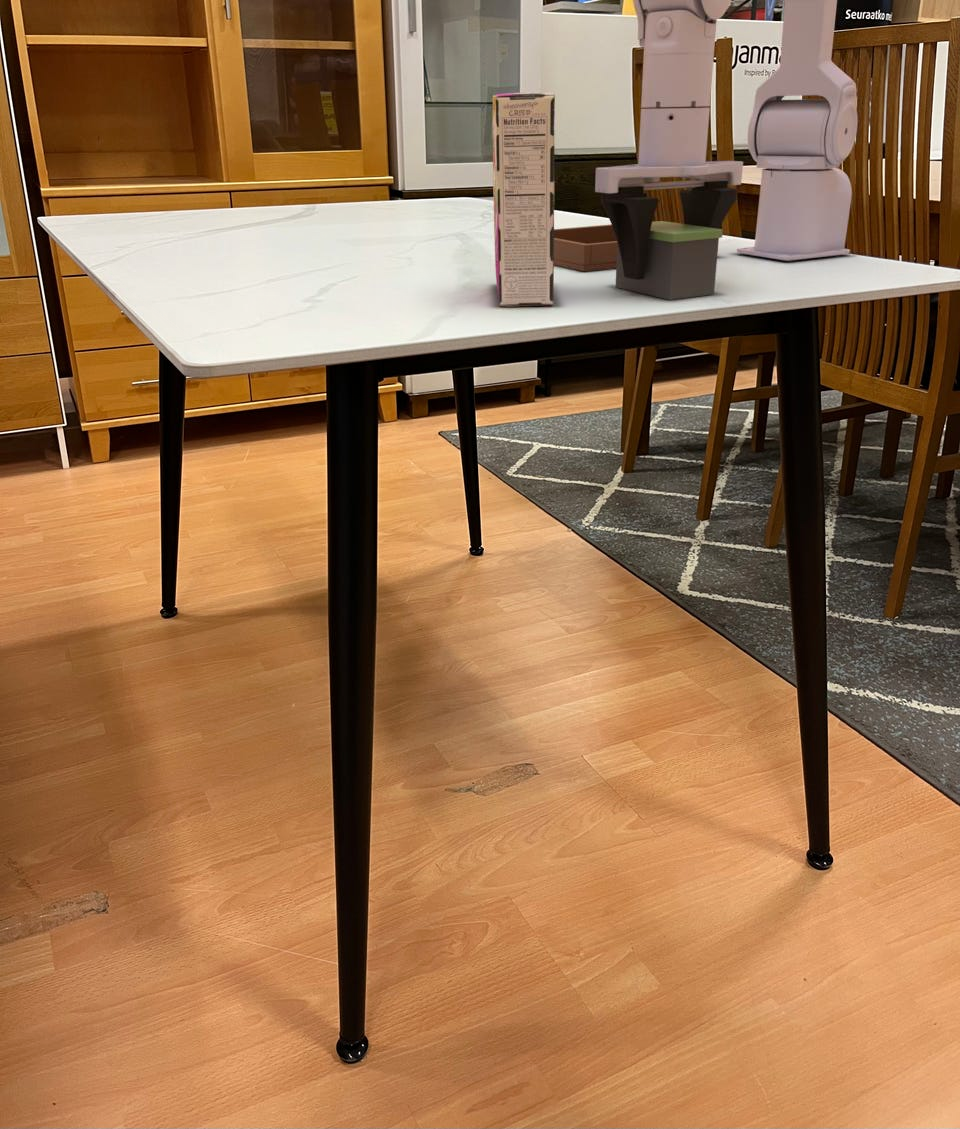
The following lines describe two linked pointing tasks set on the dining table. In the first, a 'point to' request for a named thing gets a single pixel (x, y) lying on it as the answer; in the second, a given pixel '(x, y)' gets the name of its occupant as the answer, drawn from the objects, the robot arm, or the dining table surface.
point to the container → (676, 262)
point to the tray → (586, 248)
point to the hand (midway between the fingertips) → (664, 274)
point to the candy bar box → (524, 197)
